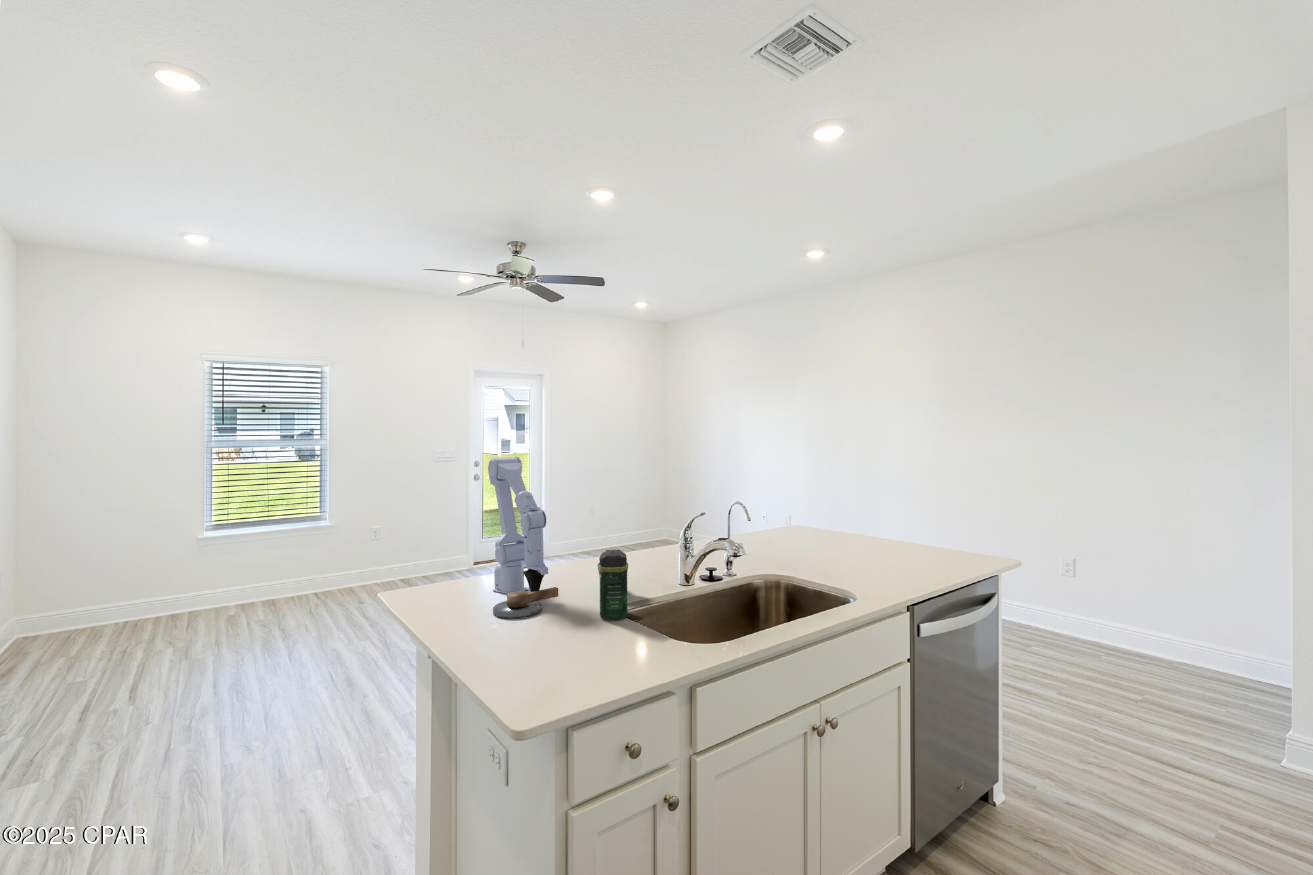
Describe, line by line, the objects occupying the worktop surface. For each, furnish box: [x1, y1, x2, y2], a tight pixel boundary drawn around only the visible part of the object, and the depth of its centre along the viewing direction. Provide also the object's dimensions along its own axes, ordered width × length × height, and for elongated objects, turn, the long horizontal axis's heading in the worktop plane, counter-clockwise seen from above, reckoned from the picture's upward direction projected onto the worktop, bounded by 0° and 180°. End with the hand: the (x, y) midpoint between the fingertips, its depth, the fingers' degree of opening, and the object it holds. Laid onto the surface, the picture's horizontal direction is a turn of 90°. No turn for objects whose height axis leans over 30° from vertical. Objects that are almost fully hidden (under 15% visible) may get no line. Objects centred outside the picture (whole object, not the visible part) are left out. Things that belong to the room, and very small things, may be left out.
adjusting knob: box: [506, 586, 559, 608], centre depth 177 cm, size 16×6×3 cm, turn 128°
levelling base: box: [492, 600, 543, 620], centre depth 174 cm, size 14×14×2 cm
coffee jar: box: [598, 549, 628, 622], centre depth 168 cm, size 10×8×19 cm
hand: (534, 593), depth 183 cm, fingers closed
